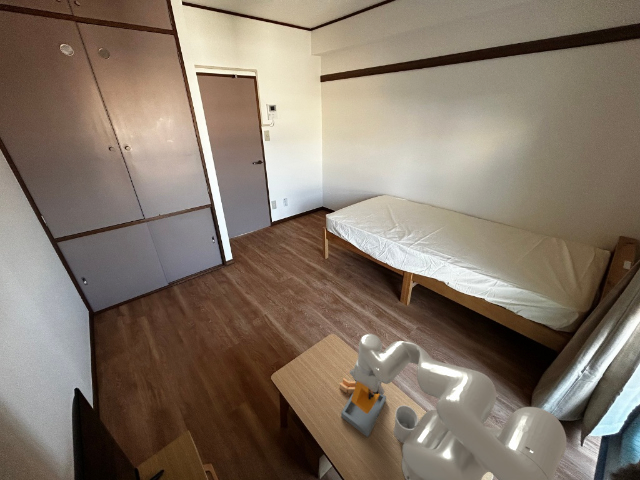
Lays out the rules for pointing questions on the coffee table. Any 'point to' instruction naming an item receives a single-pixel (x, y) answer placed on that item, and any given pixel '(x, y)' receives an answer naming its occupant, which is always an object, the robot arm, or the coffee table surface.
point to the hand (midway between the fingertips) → (365, 392)
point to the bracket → (363, 398)
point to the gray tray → (362, 415)
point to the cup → (404, 422)
